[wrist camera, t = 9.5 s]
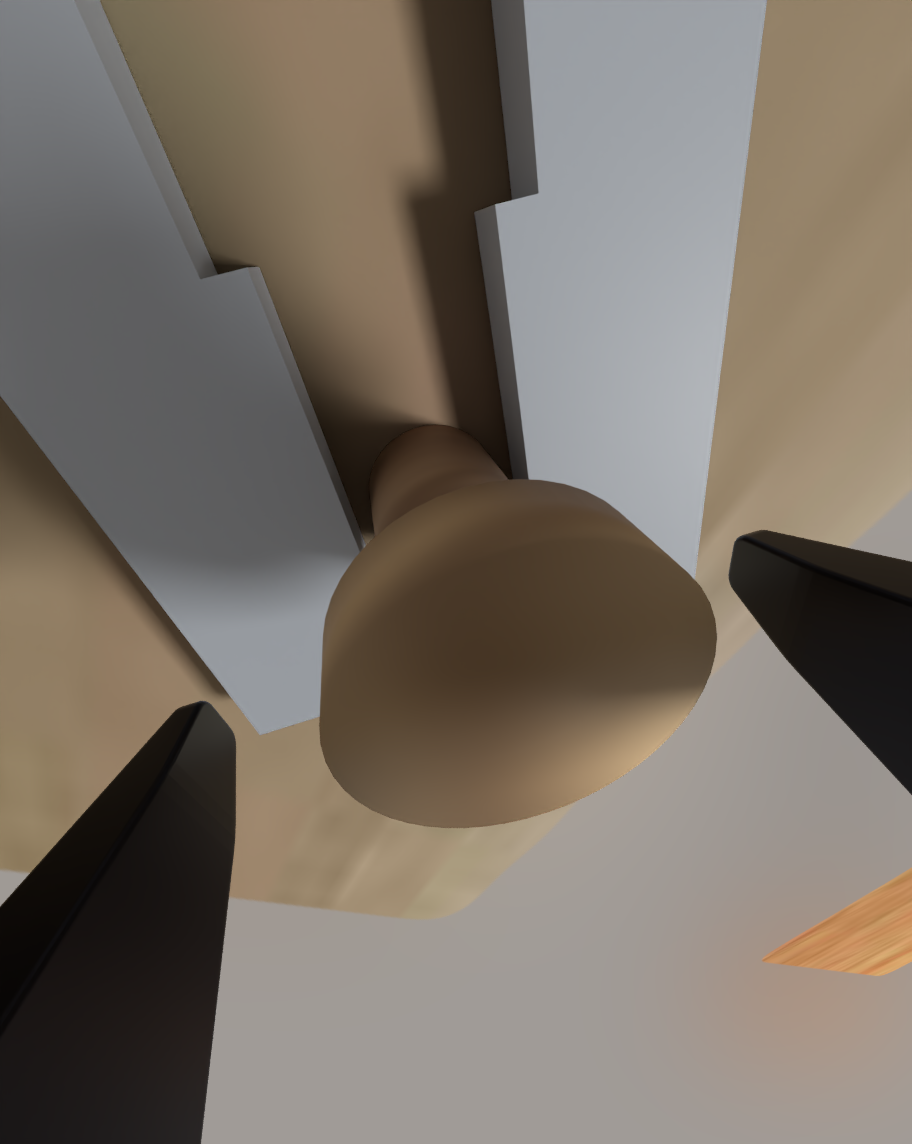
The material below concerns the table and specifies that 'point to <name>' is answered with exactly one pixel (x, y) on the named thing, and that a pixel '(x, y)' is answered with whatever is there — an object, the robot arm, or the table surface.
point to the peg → (500, 642)
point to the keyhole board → (262, 353)
